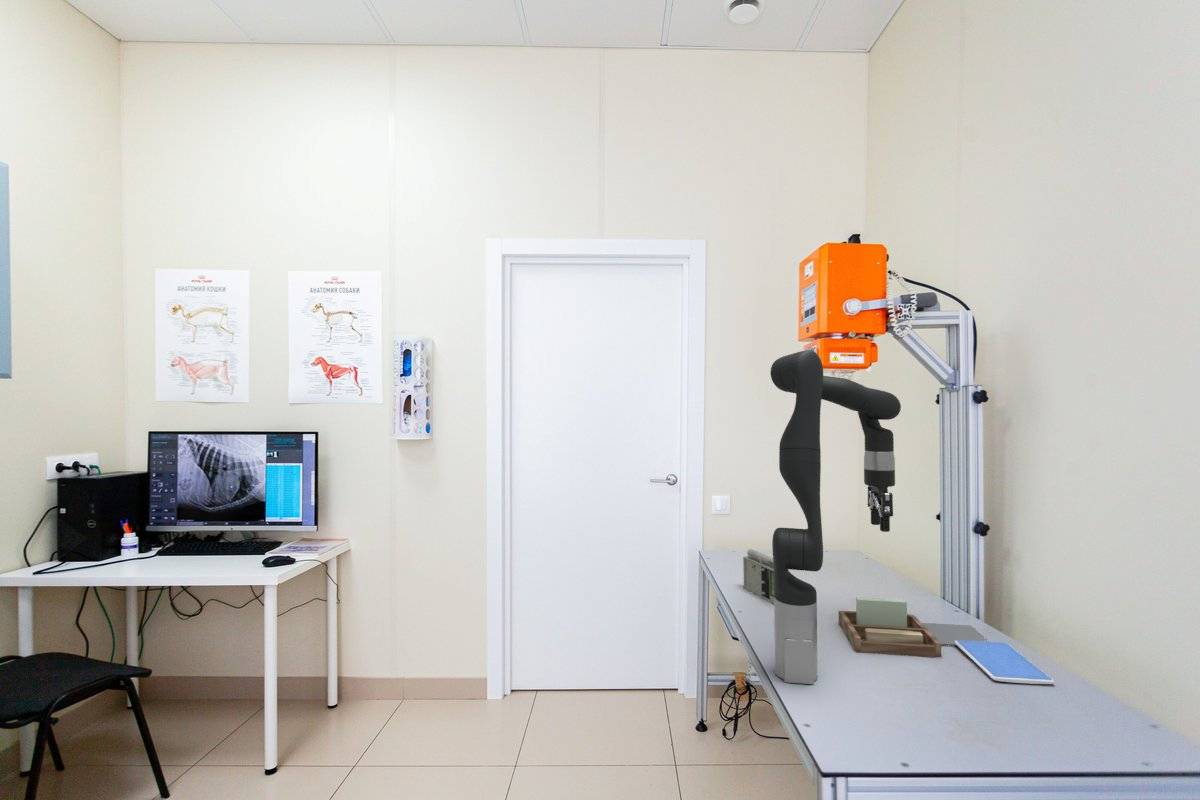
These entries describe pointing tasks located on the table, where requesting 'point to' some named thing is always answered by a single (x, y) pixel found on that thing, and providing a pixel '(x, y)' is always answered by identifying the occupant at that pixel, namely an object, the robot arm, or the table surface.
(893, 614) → the tall block
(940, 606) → the table surface
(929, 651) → the storage rack
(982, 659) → the tablet computer
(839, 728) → the table surface
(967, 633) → the mat
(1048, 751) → the table surface
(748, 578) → the geiger counter
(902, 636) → the offcut stack
